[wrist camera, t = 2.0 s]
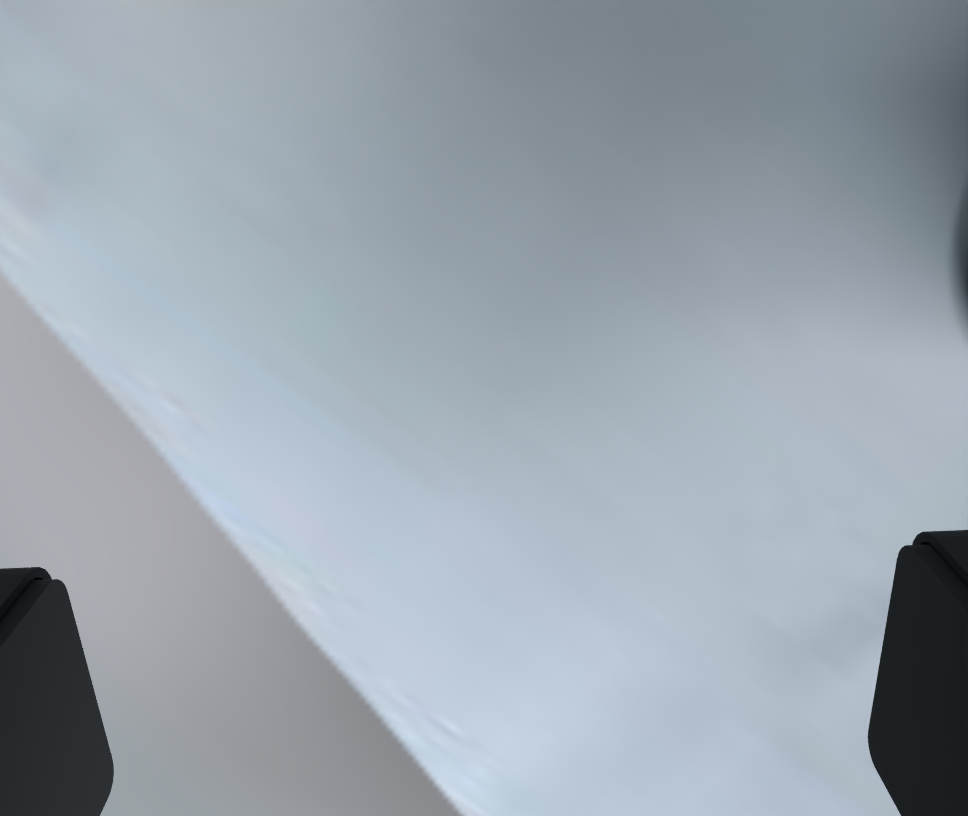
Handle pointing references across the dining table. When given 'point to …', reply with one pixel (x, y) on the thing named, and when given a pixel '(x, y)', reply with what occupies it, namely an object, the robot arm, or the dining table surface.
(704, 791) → the dining table surface
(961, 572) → the robot arm
